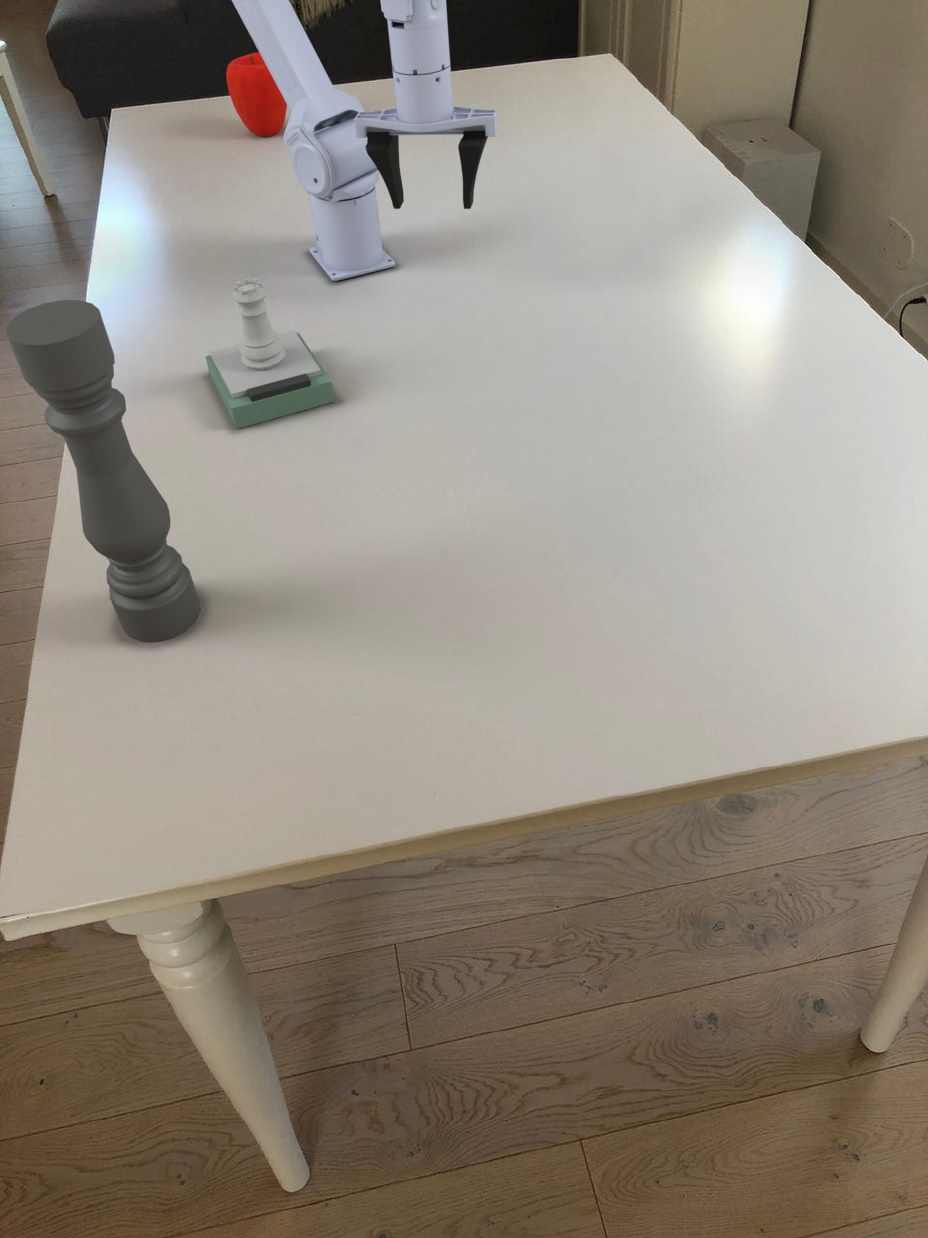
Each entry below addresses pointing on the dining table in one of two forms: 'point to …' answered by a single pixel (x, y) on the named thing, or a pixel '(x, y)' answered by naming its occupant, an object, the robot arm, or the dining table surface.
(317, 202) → the robot arm
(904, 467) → the dining table surface
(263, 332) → the rook chess piece
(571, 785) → the dining table surface
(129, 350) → the dining table surface
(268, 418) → the scale
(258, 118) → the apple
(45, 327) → the candle holder
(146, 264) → the dining table surface
